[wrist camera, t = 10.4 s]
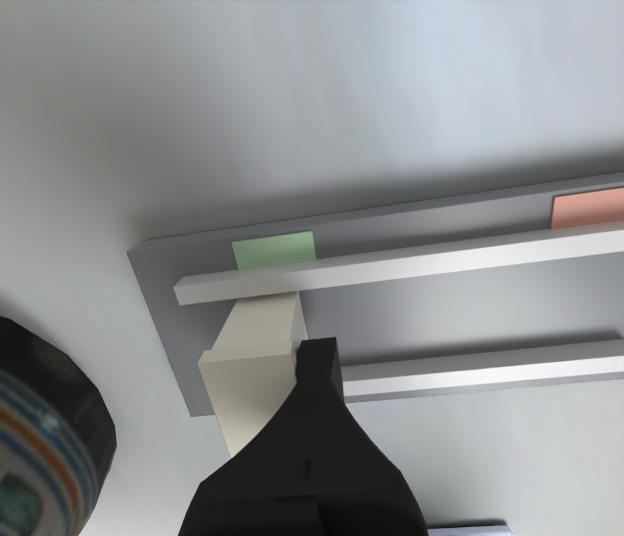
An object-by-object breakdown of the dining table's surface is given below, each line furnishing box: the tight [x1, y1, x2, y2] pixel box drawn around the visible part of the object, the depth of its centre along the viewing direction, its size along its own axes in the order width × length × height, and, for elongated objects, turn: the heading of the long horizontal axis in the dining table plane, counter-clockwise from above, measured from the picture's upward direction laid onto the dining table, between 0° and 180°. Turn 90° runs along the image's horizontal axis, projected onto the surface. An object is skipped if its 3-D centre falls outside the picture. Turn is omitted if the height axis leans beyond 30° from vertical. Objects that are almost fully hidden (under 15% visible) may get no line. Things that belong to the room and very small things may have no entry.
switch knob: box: [197, 291, 308, 458], centre depth 13 cm, size 4×3×4 cm, turn 9°
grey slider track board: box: [127, 171, 624, 417], centre depth 14 cm, size 9×24×2 cm, turn 99°
